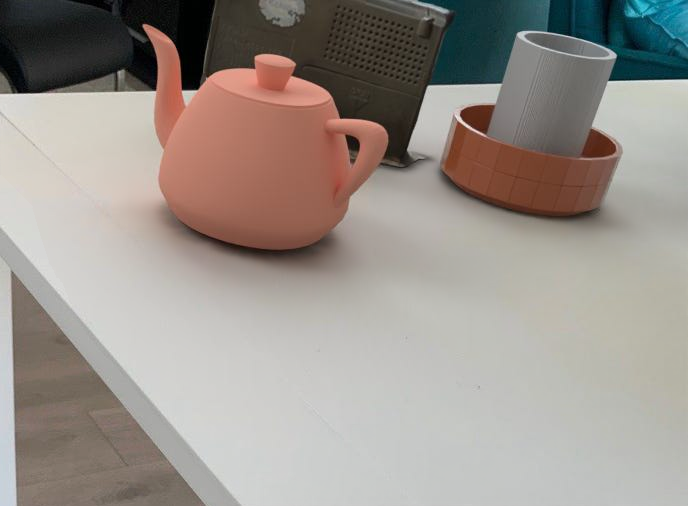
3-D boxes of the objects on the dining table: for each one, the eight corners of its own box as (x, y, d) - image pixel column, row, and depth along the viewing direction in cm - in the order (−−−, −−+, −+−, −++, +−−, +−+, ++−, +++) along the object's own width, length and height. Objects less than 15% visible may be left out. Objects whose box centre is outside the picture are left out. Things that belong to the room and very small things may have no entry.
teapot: (77, 199, 83) (86, 28, 75) (180, 163, 93) (198, 9, 85) (313, 291, 75) (352, 112, 67) (397, 240, 86) (439, 80, 78)
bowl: (615, 194, 105) (638, 137, 101) (577, 235, 93) (601, 172, 90) (467, 149, 109) (484, 93, 106) (414, 182, 98) (430, 121, 94)
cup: (457, 169, 100) (497, 32, 93) (510, 159, 106) (552, 29, 98) (533, 202, 96) (582, 62, 88) (585, 190, 101) (635, 56, 93)
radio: (427, 158, 105) (472, -9, 95) (411, 181, 98) (458, 4, 89) (214, 104, 109) (237, -62, 99) (186, 122, 102) (207, -53, 92)
